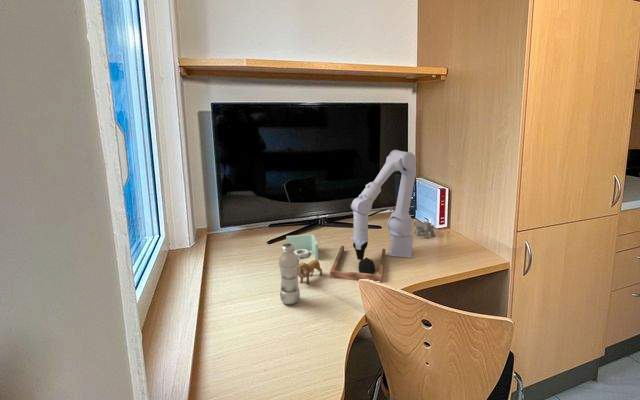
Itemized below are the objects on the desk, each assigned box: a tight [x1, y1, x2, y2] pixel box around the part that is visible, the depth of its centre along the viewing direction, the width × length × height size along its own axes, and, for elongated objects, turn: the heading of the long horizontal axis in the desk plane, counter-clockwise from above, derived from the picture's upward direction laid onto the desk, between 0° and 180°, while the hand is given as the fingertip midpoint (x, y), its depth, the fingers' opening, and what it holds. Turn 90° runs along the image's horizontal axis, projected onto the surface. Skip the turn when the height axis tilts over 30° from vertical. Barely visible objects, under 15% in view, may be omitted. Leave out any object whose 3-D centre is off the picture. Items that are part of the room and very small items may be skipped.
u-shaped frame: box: [329, 245, 386, 283], centre depth 142 cm, size 19×25×2 cm
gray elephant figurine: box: [413, 221, 436, 239], centre depth 170 cm, size 9×12×8 cm
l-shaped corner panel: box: [285, 233, 319, 261], centre depth 151 cm, size 12×12×8 cm
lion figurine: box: [298, 259, 323, 285], centre depth 130 cm, size 15×5×9 cm, turn 152°
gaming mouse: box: [358, 256, 376, 274], centre depth 141 cm, size 6×15×4 cm, turn 174°
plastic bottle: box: [278, 242, 301, 305], centre depth 114 cm, size 6×7×20 cm
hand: (360, 259), depth 144 cm, fingers closed
